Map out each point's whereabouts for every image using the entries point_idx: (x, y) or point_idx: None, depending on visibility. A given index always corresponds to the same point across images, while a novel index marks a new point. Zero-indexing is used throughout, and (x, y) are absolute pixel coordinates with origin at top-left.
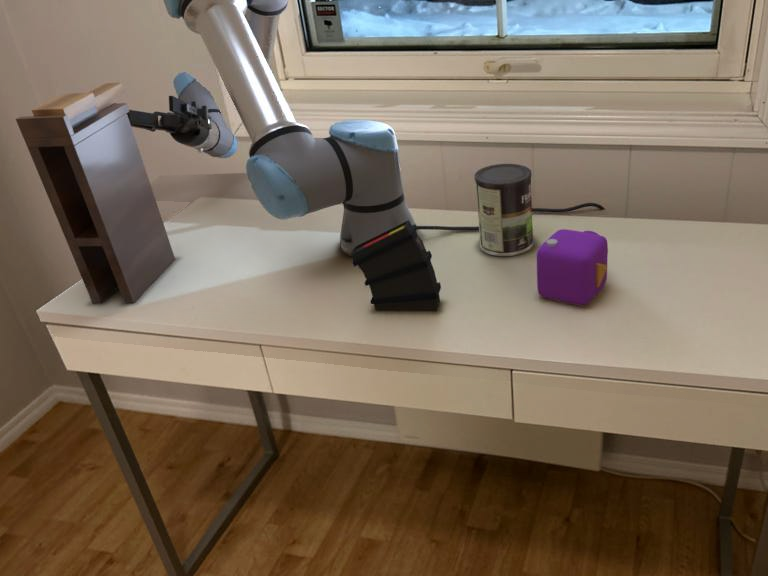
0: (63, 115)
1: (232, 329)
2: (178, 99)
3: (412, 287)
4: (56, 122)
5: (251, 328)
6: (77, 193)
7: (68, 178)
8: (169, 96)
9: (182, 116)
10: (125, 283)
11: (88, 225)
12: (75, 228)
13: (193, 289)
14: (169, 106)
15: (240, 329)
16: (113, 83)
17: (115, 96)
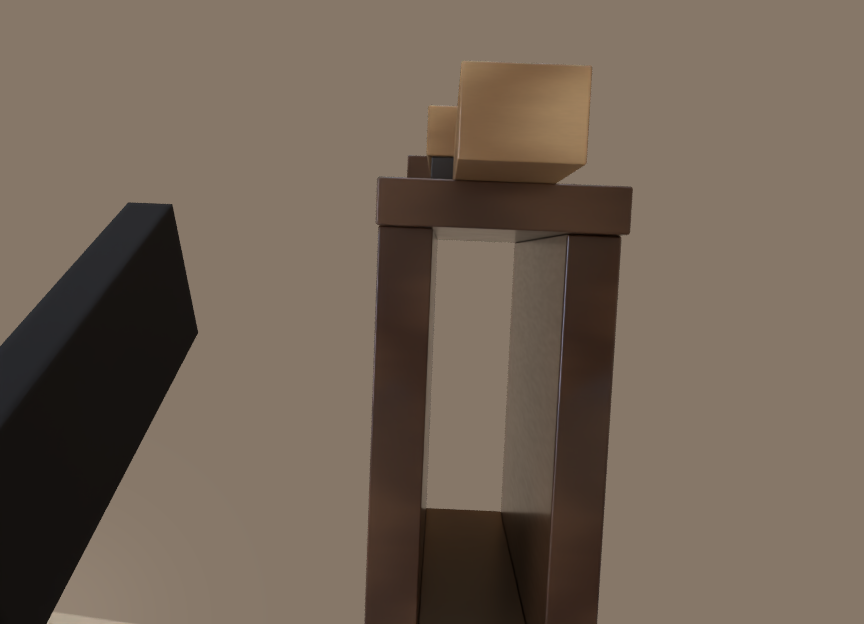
0: (415, 156)
1: (99, 619)
2: (72, 275)
3: None
4: None
5: (54, 619)
6: (514, 431)
7: (515, 371)
8: (165, 210)
9: (87, 528)
10: None
11: (508, 536)
12: (503, 495)
13: None
14: (187, 299)
15: (81, 618)
16: (518, 66)
17: (456, 144)
